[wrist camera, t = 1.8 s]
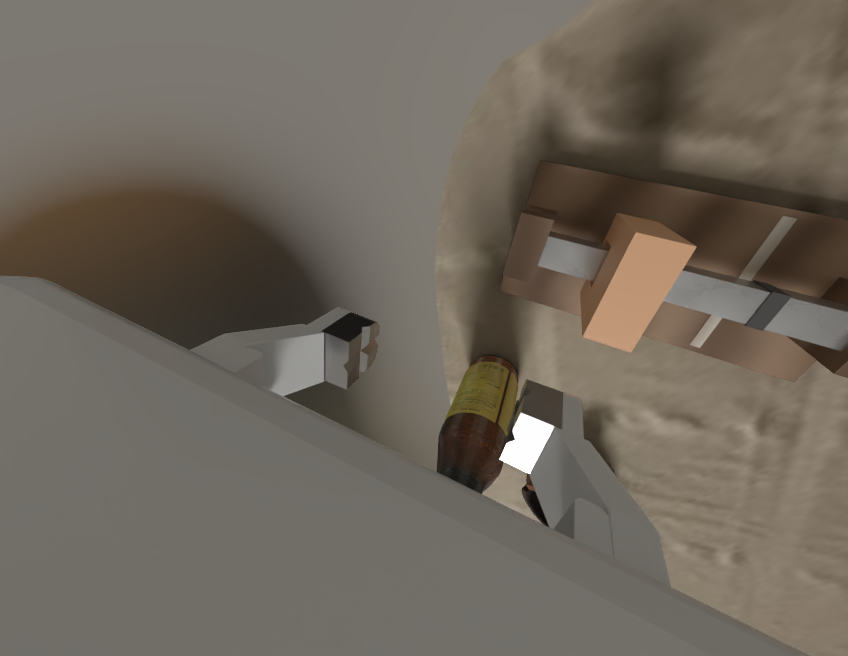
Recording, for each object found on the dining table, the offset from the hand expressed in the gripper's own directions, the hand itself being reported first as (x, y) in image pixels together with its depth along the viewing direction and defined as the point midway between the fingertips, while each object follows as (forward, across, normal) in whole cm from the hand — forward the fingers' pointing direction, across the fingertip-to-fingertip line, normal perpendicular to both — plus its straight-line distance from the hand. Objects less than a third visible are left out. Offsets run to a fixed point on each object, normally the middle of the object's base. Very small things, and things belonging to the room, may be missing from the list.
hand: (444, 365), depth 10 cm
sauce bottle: (+24, -2, +17) cm, 30 cm away
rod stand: (+24, -12, 0) cm, 27 cm away
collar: (+22, -8, 0) cm, 23 cm away
